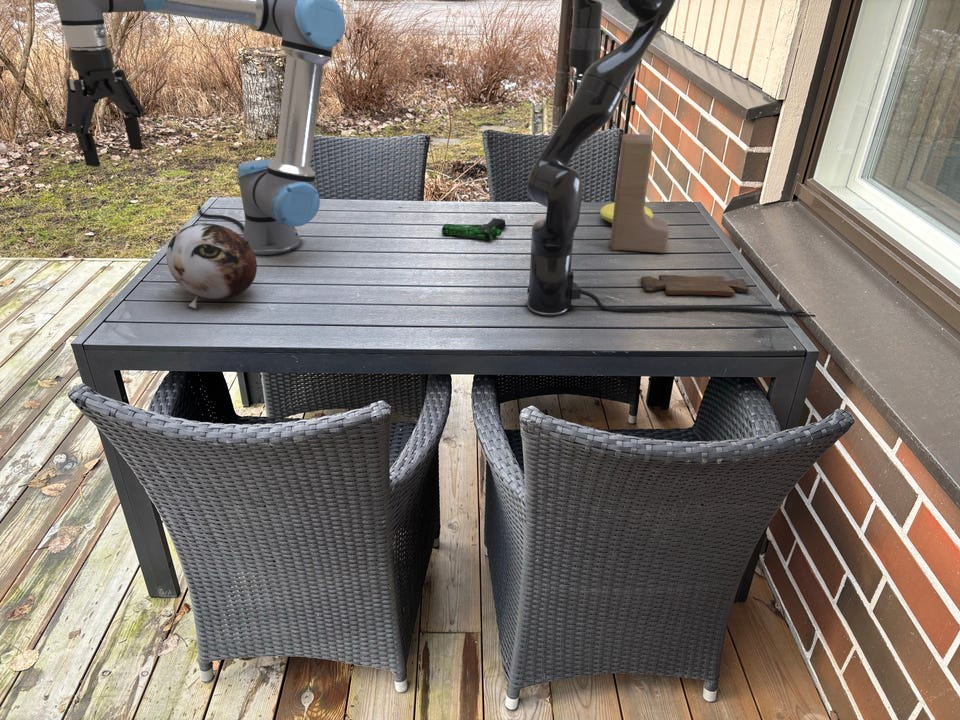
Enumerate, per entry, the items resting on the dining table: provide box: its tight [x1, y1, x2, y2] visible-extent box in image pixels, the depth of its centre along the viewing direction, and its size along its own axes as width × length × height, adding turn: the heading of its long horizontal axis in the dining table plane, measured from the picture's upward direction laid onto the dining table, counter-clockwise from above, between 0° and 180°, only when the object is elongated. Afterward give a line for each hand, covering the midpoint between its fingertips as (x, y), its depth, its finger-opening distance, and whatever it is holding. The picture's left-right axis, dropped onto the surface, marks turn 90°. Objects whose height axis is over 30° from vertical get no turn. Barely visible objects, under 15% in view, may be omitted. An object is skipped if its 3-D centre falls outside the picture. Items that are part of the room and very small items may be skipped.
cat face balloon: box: [165, 222, 258, 309], centre depth 165 cm, size 22×18×20 cm
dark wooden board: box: [640, 274, 748, 297], centre depth 176 cm, size 26×2×10 cm
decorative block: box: [610, 133, 670, 254], centre depth 191 cm, size 8×15×30 cm, turn 82°
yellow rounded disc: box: [599, 202, 654, 224], centre depth 215 cm, size 16×16×7 cm
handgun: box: [441, 217, 506, 242], centre depth 207 cm, size 16×3×15 cm
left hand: (116, 157), depth 150 cm, fingers open, 13 cm apart
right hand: (579, 116), depth 187 cm, fingers closed on block, 4 cm apart
